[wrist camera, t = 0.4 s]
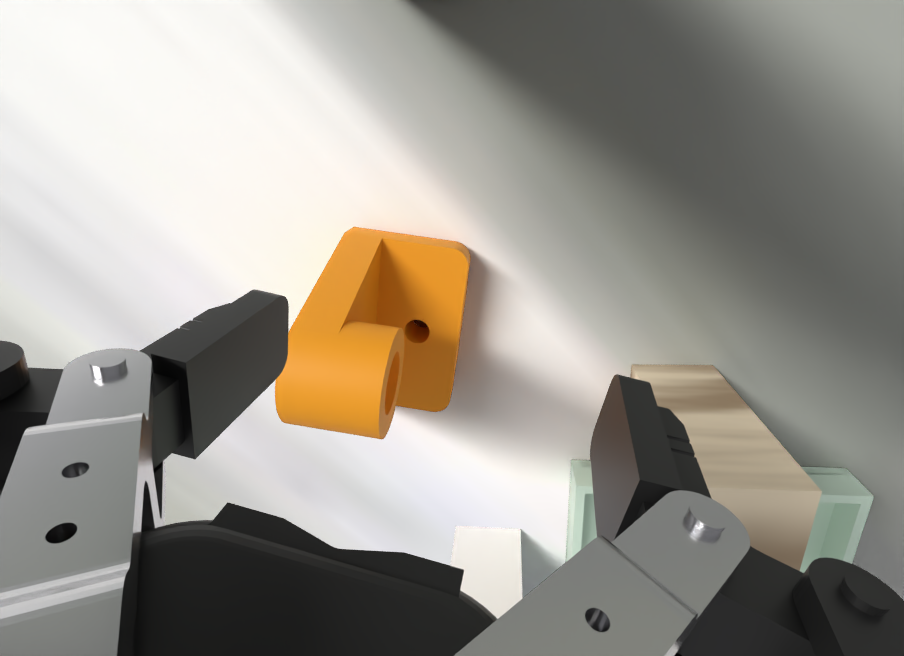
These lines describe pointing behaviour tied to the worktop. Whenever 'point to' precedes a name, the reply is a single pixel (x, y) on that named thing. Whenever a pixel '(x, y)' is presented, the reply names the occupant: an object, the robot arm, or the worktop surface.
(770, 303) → the worktop surface
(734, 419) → the plain box
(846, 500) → the tray
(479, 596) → the labelled box
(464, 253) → the bracket
